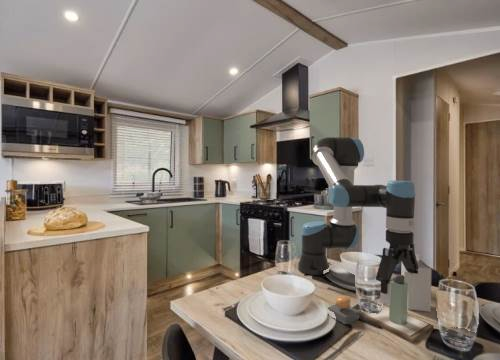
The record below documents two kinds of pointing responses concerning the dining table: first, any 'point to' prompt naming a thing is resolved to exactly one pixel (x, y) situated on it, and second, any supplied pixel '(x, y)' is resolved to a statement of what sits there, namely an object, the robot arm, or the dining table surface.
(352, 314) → the button base
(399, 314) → the green tall block
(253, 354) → the dining table surface
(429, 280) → the milk carton
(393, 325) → the wooden tray
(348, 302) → the button
